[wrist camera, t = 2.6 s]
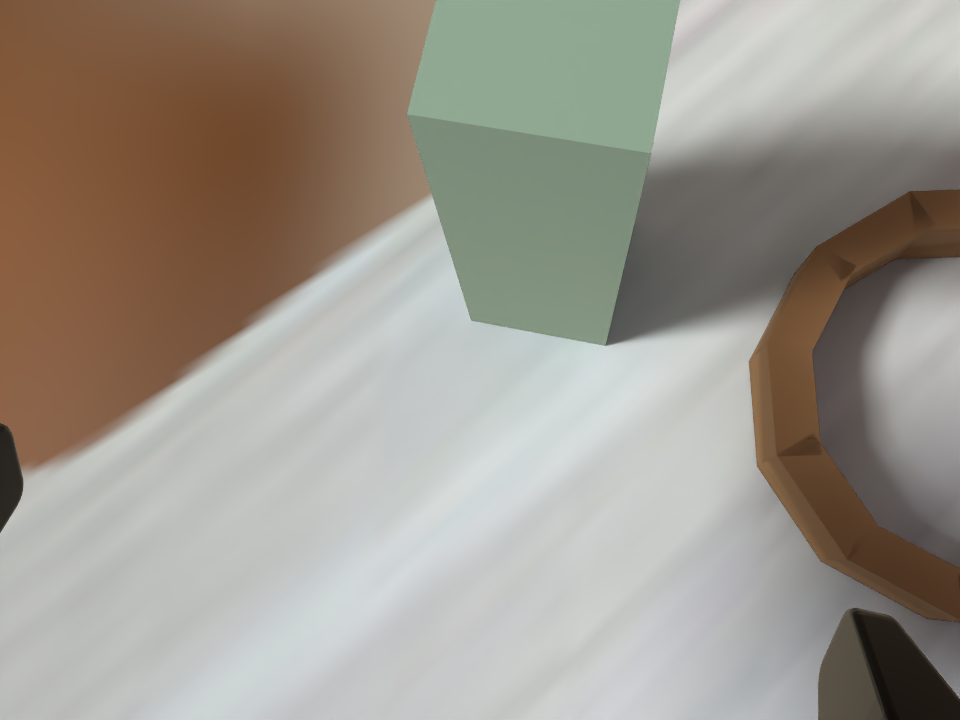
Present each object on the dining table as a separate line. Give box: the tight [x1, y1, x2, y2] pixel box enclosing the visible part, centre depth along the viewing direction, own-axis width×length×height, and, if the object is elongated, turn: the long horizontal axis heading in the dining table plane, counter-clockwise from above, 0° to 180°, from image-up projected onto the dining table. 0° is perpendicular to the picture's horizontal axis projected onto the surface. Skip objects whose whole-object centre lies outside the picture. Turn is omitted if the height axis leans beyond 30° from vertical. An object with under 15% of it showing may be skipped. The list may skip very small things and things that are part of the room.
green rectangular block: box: [407, 0, 680, 346], centre depth 19 cm, size 4×4×11 cm
